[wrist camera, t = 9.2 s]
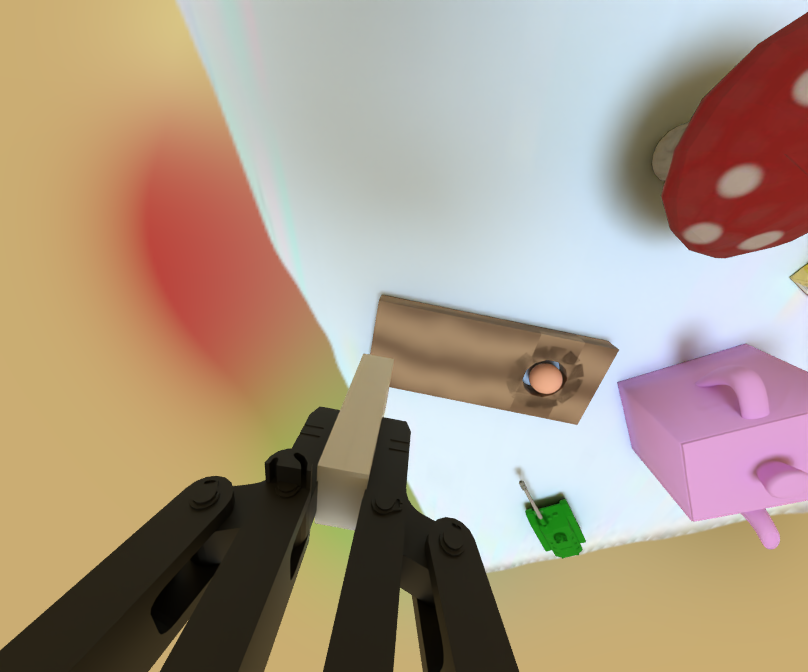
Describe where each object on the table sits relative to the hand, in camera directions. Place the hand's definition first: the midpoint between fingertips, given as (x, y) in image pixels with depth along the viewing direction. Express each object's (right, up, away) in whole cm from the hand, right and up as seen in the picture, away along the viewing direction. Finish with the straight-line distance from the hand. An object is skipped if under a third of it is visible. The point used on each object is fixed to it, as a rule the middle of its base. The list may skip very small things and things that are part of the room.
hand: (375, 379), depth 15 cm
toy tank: (+26, -26, +37) cm, 52 cm away
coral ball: (+20, -3, +25) cm, 32 cm away
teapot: (+41, -8, +28) cm, 50 cm away
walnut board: (+12, -1, +27) cm, 29 cm away
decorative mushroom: (+30, +20, +16) cm, 39 cm away
